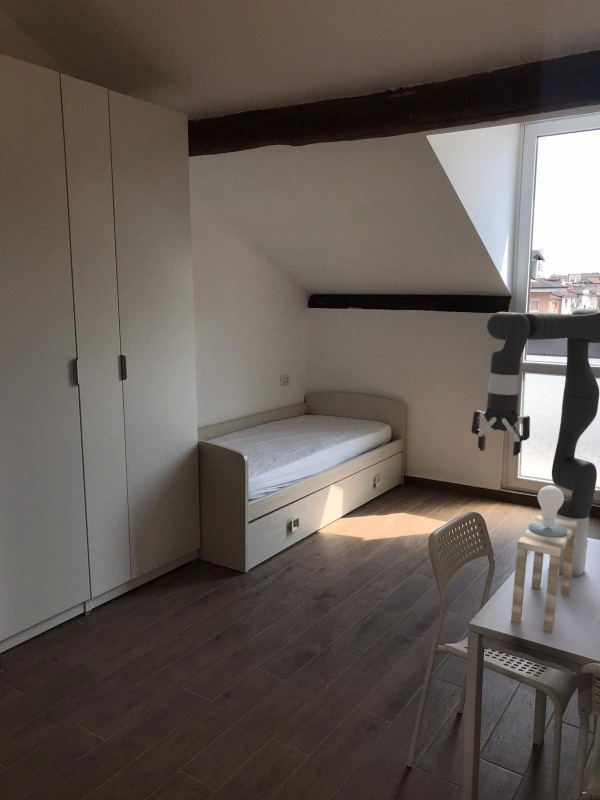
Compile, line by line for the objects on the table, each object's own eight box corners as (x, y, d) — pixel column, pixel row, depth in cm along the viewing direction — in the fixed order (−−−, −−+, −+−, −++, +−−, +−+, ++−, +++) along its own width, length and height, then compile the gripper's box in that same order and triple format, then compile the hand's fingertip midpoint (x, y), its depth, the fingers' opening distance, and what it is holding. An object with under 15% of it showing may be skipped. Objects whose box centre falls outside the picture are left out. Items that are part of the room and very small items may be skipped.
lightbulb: (530, 528, 162) (534, 485, 160) (540, 522, 166) (544, 480, 165) (555, 534, 158) (559, 491, 156) (564, 528, 162) (568, 486, 161)
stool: (533, 584, 178) (539, 511, 175) (569, 593, 173) (577, 518, 170) (510, 621, 158) (517, 539, 155) (551, 632, 153) (559, 548, 150)
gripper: (535, 392, 165) (530, 454, 167) (479, 386, 172) (475, 446, 175) (528, 395, 158) (523, 460, 161) (471, 390, 166) (467, 451, 168)
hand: (498, 452), depth 168 cm, fingers open, 8 cm apart
